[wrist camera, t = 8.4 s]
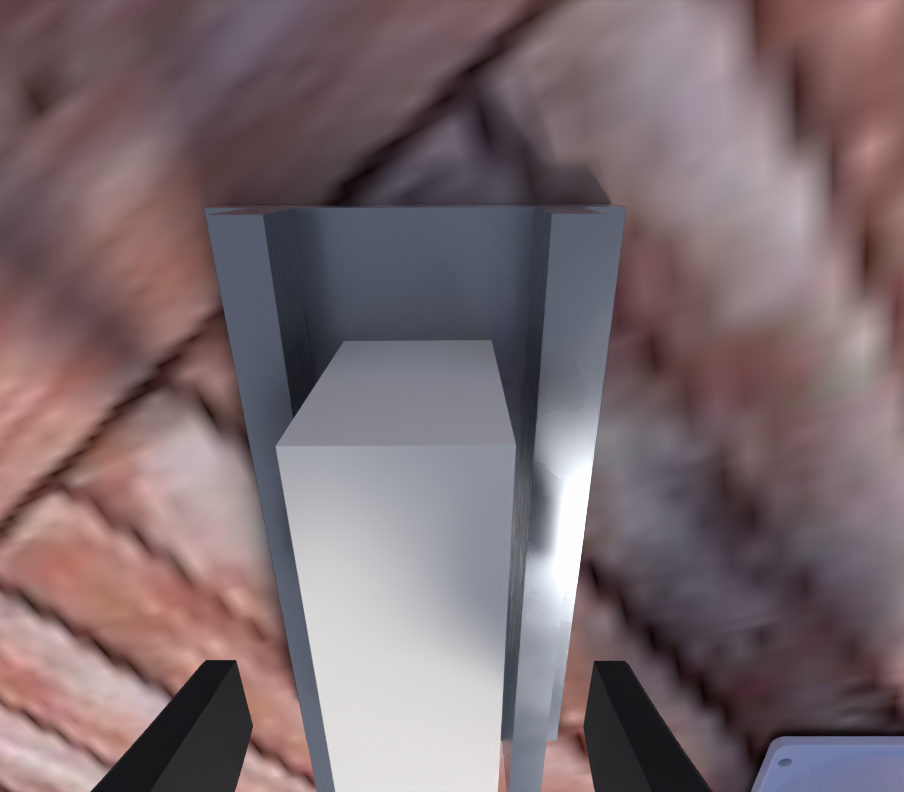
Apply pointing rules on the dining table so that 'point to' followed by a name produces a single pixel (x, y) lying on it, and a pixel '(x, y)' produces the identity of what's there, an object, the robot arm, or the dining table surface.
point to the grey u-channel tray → (427, 319)
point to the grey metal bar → (405, 560)
